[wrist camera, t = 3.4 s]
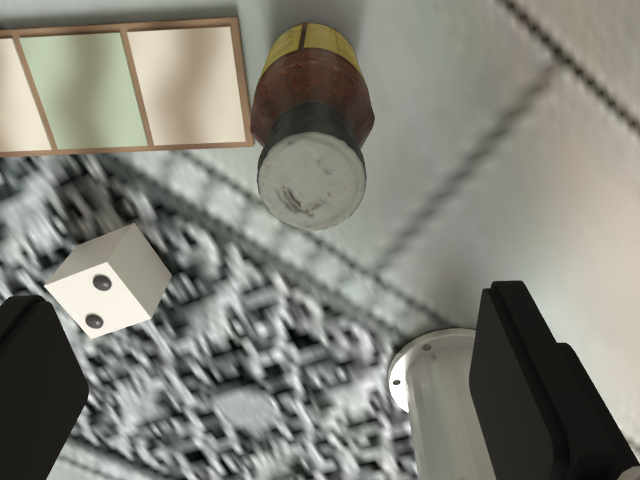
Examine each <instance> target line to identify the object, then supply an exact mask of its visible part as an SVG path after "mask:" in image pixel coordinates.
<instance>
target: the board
mask: <svg viewBox="0 0 640 480" xmlns="http://www.w3.org/2000/svg"><path fill="white" fill-rule="evenodd" d="M250 126H251V110H250V102H249V95H248V87H247V79H246V71H245V63H244V56H243V48H242V40H241V32H240V25H239V17H238V16H235V17H217V18H199V19H181V20H163V21H144V22H126V23H108V24H90V25H72V26H53V27H35V28H17V29H0V157H18V156H42V155H66V154H90V153H114V152H137V151H161V150H185V149H209V148H233V147H254V144H255V141H254V137H253V136H252V135H251V133H250Z"/></svg>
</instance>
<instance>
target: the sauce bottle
mask: <svg viewBox="0 0 640 480" xmlns="http://www.w3.org/2000/svg"><path fill="white" fill-rule="evenodd" d="M374 120H375V116H374V113H373V109H372V106H371V102H370V97H369V92H368V88H367V85H366V83H365V80H364V78H363V75H362V73H361V70H360V67H359V64H358V61H357V59H356V56H355V53H354V50H353V48H352V47H351V45H350V44H349V43H348V41H347V40H346V39H345V38H344V37H343V36H342V35H341V34H340V33H339V32H338V31H337V30H336V29H332V28H330V27H328V26H325V25H321V24H316V23H302V24H299V25H297V26H295V27H293V28H291V29H289V30H288V31H286V32H285V33H283V34H282V35H281V36H280V37H279V38H278V39H277V40H276V41H275V43H274V44H273V46H272V48H271V50H270V52H269V55H268V57H267V60H266V63H265V66H264V68H263V71H262V74H261V76H260V79H259V81H258V84H257V87H256V90H255V94H254V100H253V107H252V112H251V126H250V133H251V135H252V136H253V137H254V138H255V139H256V140H257V141H258V142H259V143H260V144H261V145H262V147H263V148H264V149H263V150H262V152H261V155H260V157H259V161H258V174H257V183H258V190H259V194H260V196H261V198H262V200H263V203H264V205H265V206H266V208H267V209H268V210H269V211H270V212H271V213H272V214H273V215H274V216H276V217H277V218H278V219H279V220H281V221H283V222H284V223H286V224H288V225H290V226H293V227H296V228H299V229H303V230H314V231H316V230H323V229H327V228H330V227H333V226H336V225H337V224H339V223H340V222H342V221H344V220H345V219H346V218H348V217H349V216H351V215H352V214H353V212H354V211H355V210H356V208H357V207H358V205H359V204H360V202H361V200H362V198H363V195H364V193H365V187H366V171H365V162H364V159H363V155H362V153H361V150H360V149H361V147H362V146H363V144H364V142H365V140H366V138H367V137H368V135H369V133H370V131H371V130H372V128H373V124H374Z"/></svg>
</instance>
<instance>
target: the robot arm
mask: <svg viewBox="0 0 640 480" xmlns="http://www.w3.org/2000/svg"><path fill="white" fill-rule="evenodd" d="M388 383H389V390H390V393H391V396H392V397H393V399H394V400H395V402H396V403H397V404H398V405H399V406H400V407H401V408H402V409H403V410H405V411H407V412H408V413H409V419H410V426H411V432H412V438H413V445H414V451H415V457H416V464H417V470H418V476H419V480H640V464H639V462H638V460H637V458H636V457H635V455H634V453H633V451H632V450H631V448H630V446H629V445H628V443H627V441H626V439H625V438H624V436H623V434H622V432H621V431H620V429H619V427H618V426H617V424H616V422H615V420H614V419H613V417H612V415H611V413H610V412H609V410H608V408H607V407H606V405H605V403H604V401H603V400H602V398H601V396H600V394H599V393H598V391H597V389H596V387H595V386H594V384H593V382H592V381H591V379H590V377H589V375H588V374H587V372H586V370H585V368H584V367H583V365H582V363H581V362H580V360H579V358H578V356H577V355H576V353H575V351H574V350H573V349H572V347H571V346H570V345H569V344H567V343H557V342H556V340H555V338H554V337H553V335H552V333H551V331H550V329H549V327H548V326H547V324H546V322H545V320H544V318H543V317H542V315H541V313H540V311H539V309H538V307H537V306H536V304H535V302H534V300H533V298H532V296H531V295H530V293H529V291H528V289H527V287H526V285H525V284H524V283H523V281H494V282H493V283H492V284H491V288H485V289H483V291H482V296H481V302H480V308H479V315H478V321H477V327H476V330H471V329H463V328H457V329H444V330H438V331H434V332H431V333H428V334H424V335H422V336H420V337H418V338H416V339H414V340H412V341H411V342H410V343H408V344H407V345H405V346H404V347H403V348H402V349H401V350H400V351H399V352H398V353H397V354H396V356H395V357H394V359H393V360H392V362H391V365H390V367H389V371H388ZM88 394H89V387H88V384H87V381H86V379H85V377H84V375H83V372H82V370H81V368H80V366H79V363H78V361H77V359H76V357H75V354H74V352H73V350H72V348H71V345H70V343H69V341H68V339H67V336H66V334H65V332H64V330H63V327H62V325H61V323H60V321H59V319H58V316H57V314H56V312H55V310H54V307H53V306H52V304H51V303H50V302H46V301H45V299H44V298H43V297H42V296H39V295H28V296H12V297H9V298H8V299H7V300H5V302H4V303H3V304H2V305H1V306H0V480H46V479H47V477H48V475H49V473H50V471H51V469H52V467H53V465H54V463H55V461H56V459H57V458H58V456H59V454H60V452H61V450H62V448H63V446H64V444H65V442H66V440H67V438H68V436H69V434H70V432H71V431H72V429H73V427H74V425H75V423H76V421H77V419H78V417H79V415H80V413H81V411H82V409H83V407H84V405H85V404H86V401H87V399H88Z"/></svg>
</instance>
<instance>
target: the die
mask: <svg viewBox="0 0 640 480" xmlns="http://www.w3.org/2000/svg"><path fill="white" fill-rule="evenodd" d="M171 277H172V275H171V273H170V272H169V270H168V269H167V268H166V266H165V265H164V263H163V262H162V261H161V259H160V258H159V256H158V255H157V254H156V252H155V251H154V249H153V248H152V247H151V245H150V244H149V242H148V241H147V240H146V238H145V237H144V235H143V234H142V233H141V231H140V230H139V228H138V227H137V226H136V224H135V223H132V224H130V225H127V226H125V227H122V228H120V229H117V230H115V231H112V232H110V233H107V234H105V235H102V236H100V237H97V238H95V239H92V240H90V241H87V242H85V243H82V244H79V245H77V247H76V248H75V249H74V250H73V251H72V253H71V254H70V255H69V256H68V257H67V259H66V260H65V261H64V262H63V263H62V265H61V266H60V267H59V268H58V269H57V271H56V272H55V273H54V274H53V275H52V277H51V278H50V279H49V280H48V281H47V283H46V284H45V285H44V286H45V288H46V289H47V290H48V291H49V292H50V293H51V294H52V295H53V297H54V298H55V299H56V300H57V301H58V302H59V303H60V304H61V306H62V307H63V308H64V309H65V310H66V311H67V312H68V313H69V315H70V316H71V317H72V318H73V319H74V320H75V321H76V322H77V324H78V325H79V326H80V327H81V328H82V329H83V330H84V331H85V332H86V334H87V335H88V336H89V337H90V338H91V339H92V338H95V337H98V336H101V335H104V334H107V333H110V332H113V331H116V330H119V329H122V328H125V327H128V326H131V325H134V324H137V323H140V322H143V321H145V320H148V319H151V318H152V316H153V314H154V312H155V310H156V308H157V306H158V304H159V302H160V300H161V297H162V295H163V293H164V291H165V289H166V287H167V285H168V283H169V281H170V279H171Z"/></svg>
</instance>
